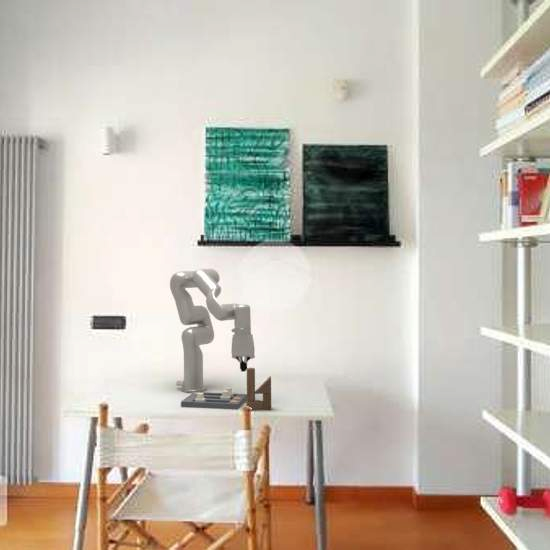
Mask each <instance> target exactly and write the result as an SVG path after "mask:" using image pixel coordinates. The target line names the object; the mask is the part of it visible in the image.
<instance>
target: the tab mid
mask: <svg viewBox="0 0 550 550" xmlns="http://www.w3.org/2000/svg"><path fill="white" fill-rule="evenodd" d="M221 393H222V396H221V397H220V399H231V396H229V391H226V389H224V390H223V391H221Z"/></svg>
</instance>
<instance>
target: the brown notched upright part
mask: <svg viewBox="0 0 550 550" xmlns="http://www.w3.org/2000/svg"><path fill="white" fill-rule="evenodd" d="M246 394H247V400H246V401H245V402H246V406H249V407H251V408H252V410H251V411H271V410H272V376H271V375H270V376H269V377H268V378H267V379H266V380H265V381H263V382H262V384H261V385H260V386H259V387H258V388H257V389H256V369H255V367H247V369H246ZM256 395H262V400H259V399H256Z"/></svg>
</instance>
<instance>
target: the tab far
mask: <svg viewBox="0 0 550 550" xmlns="http://www.w3.org/2000/svg"><path fill="white" fill-rule="evenodd" d="M225 391H229V396H234V394H235V392H233V387H226V388H225Z"/></svg>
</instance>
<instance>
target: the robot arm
mask: <svg viewBox="0 0 550 550" xmlns="http://www.w3.org/2000/svg"><path fill="white" fill-rule="evenodd" d="M219 282H220V275H219V273H218V271H217V270H215V269H213V268H199V269H196V270H189V271H188V270H186V271H177V272H175V273H173V274H172V275H171V278H170V280H169V289H170V292H171V295H172V297H173V299H174V301H175V306H176V310H177V314H178V316H179V320H180V323H181V325H183V326H190V327H188V328H185V329H184V330H183V331H182V332H181V342H182V349H183V380H182V381H181V380H176V382H175V383H176V386H181V387H180V391H181V392H184V393H193V392H204V391H206V390H207V386H206V385H204V359H203V358H204V356H203V355H204V354H203V351H202V349H201V347H200V346H202V345H203V346H204V345H209V344H211V343H212V342H213V341H214V339H215V332H214V331H215V330H214V327H213V323H212V320H211V316H210V314H211V315H212V317H214V318H215V320H218V321H220V322H225V321H233V320H234V323H233V324H234V328H232V329H231V332H232V333H233V334H232V337H231V338H232V339H231V358H232V359H234V360H237V361H238V363H239V369H240V371H241V372H247V368H248V362H249V361H250V360H253V359H255V358H256V357H255V341H254V337H253V334H252V328H251V327H252V326H251V325H252V322H251V321H252V319H251V305H249V304H239V303H226V304H225V303H223V304H221V302H220V301H219V300H218V299H217V298H218V297H219V296H220V294H221V292H222V288H221V286H220V285H219ZM191 288H197V289H198V290H199V291H200V292H201V293H202V294H203V295H204V297H205V298H206V300H205V304H206V307H205V306H203V305H195V303H194V302H193V298H192V295H191V294H190V293H189V291H188V290H186V289H191ZM194 325H195V326H194ZM196 325H197V326H196ZM243 357H244V359H243Z"/></svg>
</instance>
